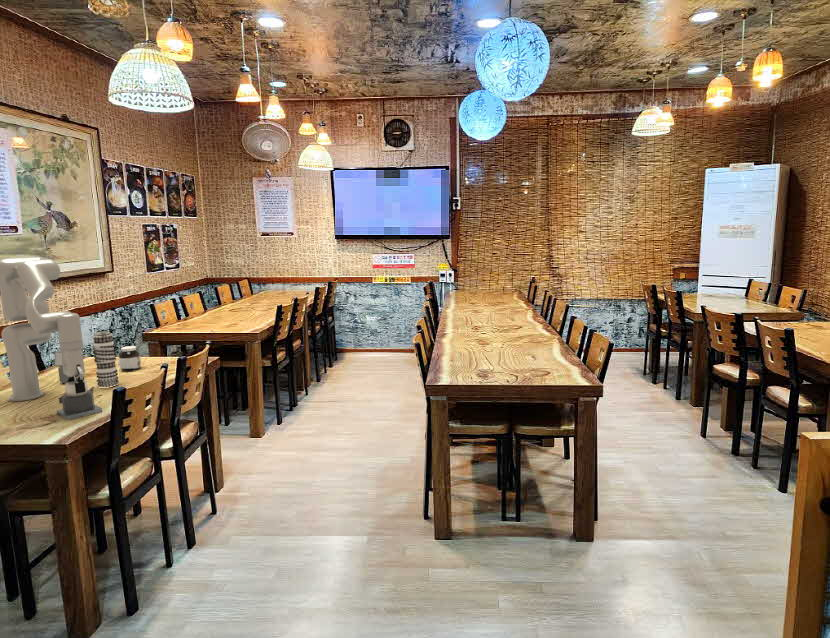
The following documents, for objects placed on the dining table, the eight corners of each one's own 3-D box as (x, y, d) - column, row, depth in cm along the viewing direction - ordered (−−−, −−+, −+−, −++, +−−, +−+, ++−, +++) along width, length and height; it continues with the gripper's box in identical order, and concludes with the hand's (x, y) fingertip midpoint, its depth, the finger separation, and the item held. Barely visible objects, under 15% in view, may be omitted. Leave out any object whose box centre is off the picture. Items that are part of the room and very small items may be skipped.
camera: (90, 377, 268) (86, 347, 265) (73, 384, 256) (69, 352, 254) (73, 377, 269) (69, 347, 266) (55, 384, 257) (51, 352, 255)
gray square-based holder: (57, 413, 214) (54, 394, 213) (90, 405, 223) (88, 387, 222) (67, 420, 206) (65, 400, 205) (102, 411, 215) (100, 393, 214)
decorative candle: (123, 383, 256) (118, 330, 252) (112, 388, 247) (106, 333, 243) (104, 383, 257) (98, 330, 253) (92, 389, 247) (86, 334, 243)
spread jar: (132, 372, 277) (130, 349, 275) (111, 372, 278) (108, 349, 276) (145, 366, 288) (143, 344, 287) (125, 366, 289) (122, 344, 287)
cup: (64, 402, 214) (62, 382, 212) (85, 397, 219) (83, 378, 218) (71, 405, 209) (68, 385, 208) (91, 401, 214) (89, 381, 213)
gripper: (52, 344, 213) (58, 389, 216) (68, 350, 202) (74, 397, 205) (74, 341, 219) (80, 385, 222) (90, 346, 207) (96, 392, 210)
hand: (77, 390), depth 213 cm, fingers closed on cup, 7 cm apart
